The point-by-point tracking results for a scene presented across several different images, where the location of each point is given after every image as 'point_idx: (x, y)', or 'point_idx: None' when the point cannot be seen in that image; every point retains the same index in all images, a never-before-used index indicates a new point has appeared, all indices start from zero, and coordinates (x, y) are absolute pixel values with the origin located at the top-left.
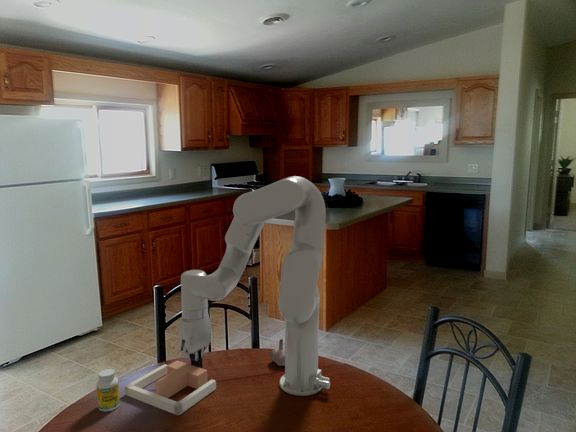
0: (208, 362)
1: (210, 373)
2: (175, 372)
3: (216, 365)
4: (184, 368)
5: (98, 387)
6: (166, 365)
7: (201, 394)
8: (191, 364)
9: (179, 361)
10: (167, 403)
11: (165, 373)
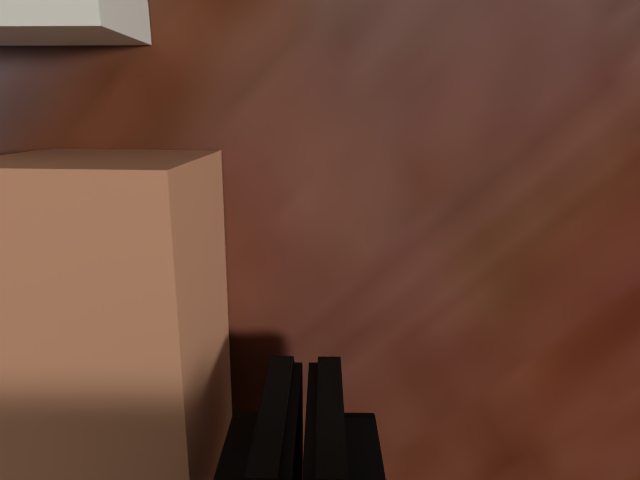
0: (623, 299)
1: (406, 472)
2: None
3: (591, 420)
4: (49, 471)
5: None
6: (77, 4)
7: None
8: (221, 458)
9: (163, 244)
10: None
11: (88, 42)
